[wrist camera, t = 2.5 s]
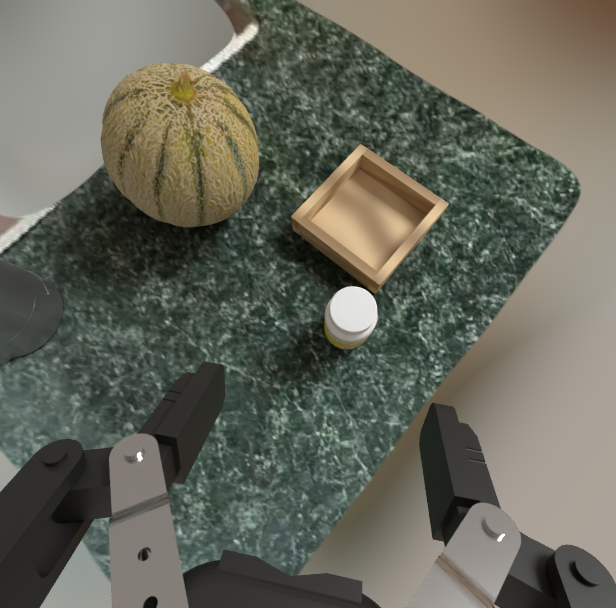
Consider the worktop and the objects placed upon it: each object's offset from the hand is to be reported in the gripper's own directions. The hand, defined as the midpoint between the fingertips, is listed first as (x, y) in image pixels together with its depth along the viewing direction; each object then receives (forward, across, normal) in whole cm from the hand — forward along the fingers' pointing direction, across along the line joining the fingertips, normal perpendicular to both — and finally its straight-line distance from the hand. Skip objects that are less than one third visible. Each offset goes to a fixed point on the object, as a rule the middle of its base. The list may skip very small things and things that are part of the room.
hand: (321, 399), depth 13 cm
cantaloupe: (+31, +18, +1) cm, 35 cm away
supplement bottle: (+22, -1, +10) cm, 24 cm away
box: (+30, -2, +2) cm, 30 cm away
